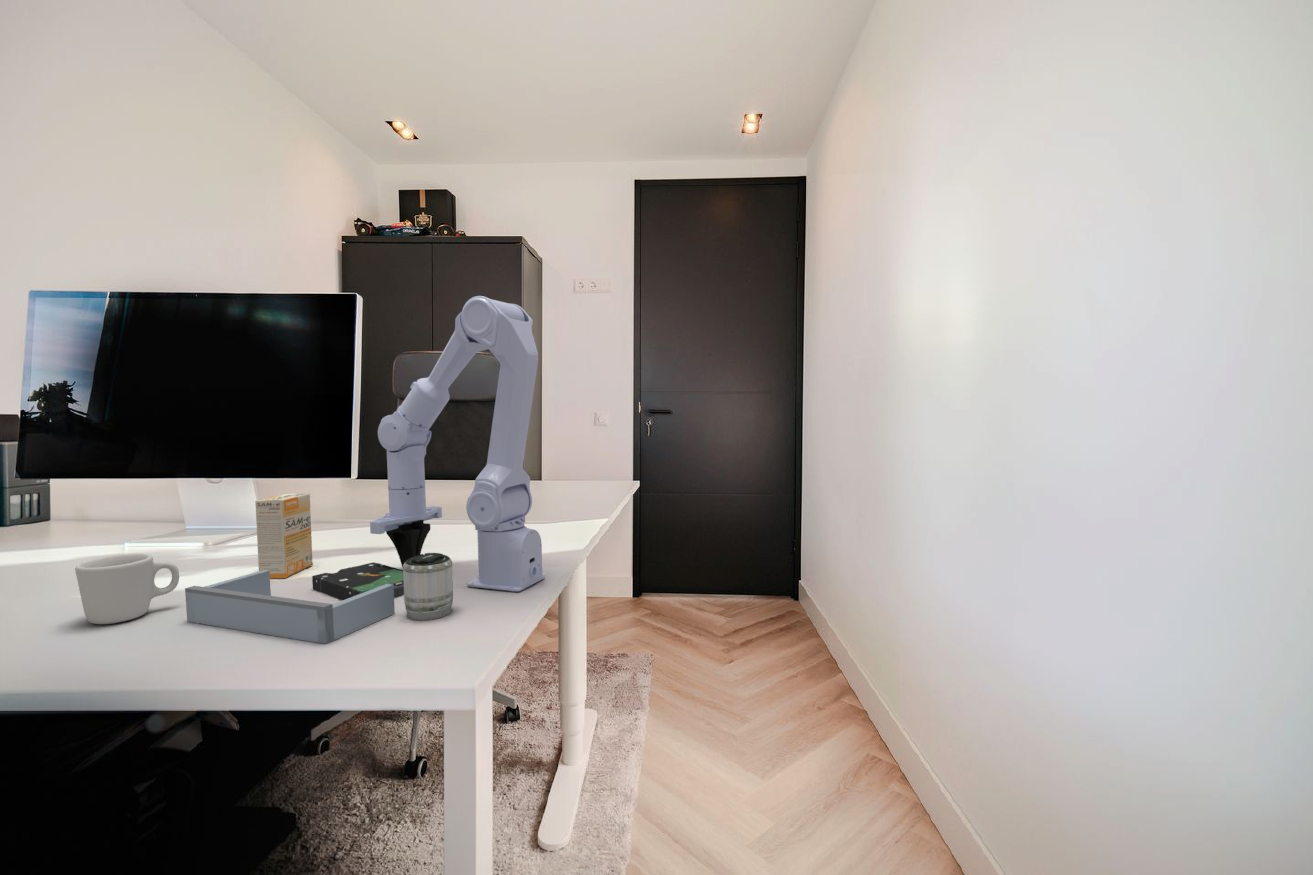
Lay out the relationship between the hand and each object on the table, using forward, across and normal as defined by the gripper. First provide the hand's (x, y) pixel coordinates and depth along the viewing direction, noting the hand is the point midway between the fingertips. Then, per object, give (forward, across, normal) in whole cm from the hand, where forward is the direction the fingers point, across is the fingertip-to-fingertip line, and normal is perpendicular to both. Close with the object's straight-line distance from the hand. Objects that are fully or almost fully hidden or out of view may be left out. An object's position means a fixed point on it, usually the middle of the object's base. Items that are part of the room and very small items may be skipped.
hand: (410, 567), depth 106 cm
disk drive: (+2, +9, 0) cm, 9 cm away
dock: (+1, +22, 0) cm, 22 cm away
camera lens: (+1, +15, +17) cm, 22 cm away
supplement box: (+1, +6, -21) cm, 22 cm away
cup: (+1, +29, -22) cm, 36 cm away
